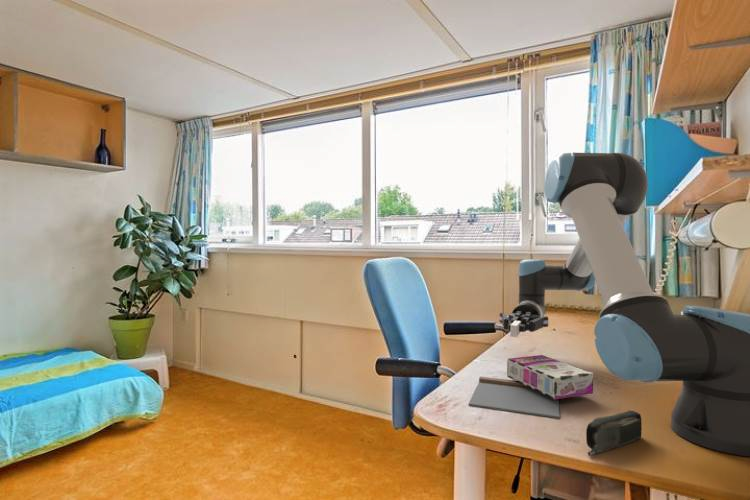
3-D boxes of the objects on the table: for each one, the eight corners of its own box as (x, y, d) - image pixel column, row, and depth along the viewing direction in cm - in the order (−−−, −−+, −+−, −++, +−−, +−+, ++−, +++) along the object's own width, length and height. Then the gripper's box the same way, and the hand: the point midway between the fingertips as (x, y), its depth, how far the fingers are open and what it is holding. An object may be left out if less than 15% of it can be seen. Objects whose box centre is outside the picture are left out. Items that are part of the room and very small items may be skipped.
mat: (559, 418, 84) (559, 416, 84) (468, 405, 91) (468, 403, 91) (557, 393, 98) (557, 391, 98) (479, 383, 105) (479, 381, 105)
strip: (557, 393, 99) (557, 387, 99) (479, 383, 105) (479, 378, 105) (557, 390, 100) (557, 385, 100) (480, 381, 107) (480, 376, 107)
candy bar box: (506, 378, 106) (554, 400, 90) (506, 358, 106) (554, 377, 90) (542, 373, 110) (594, 394, 94) (542, 354, 110) (594, 372, 94)
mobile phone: (628, 406, 79) (578, 422, 71) (645, 412, 76) (595, 428, 69) (627, 433, 79) (577, 451, 71) (644, 439, 76) (594, 459, 69)
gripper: (551, 330, 119) (542, 349, 98) (503, 326, 125) (485, 343, 104) (551, 303, 119) (543, 317, 98) (503, 300, 125) (486, 313, 104)
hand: (513, 331), depth 101 cm, fingers closed
